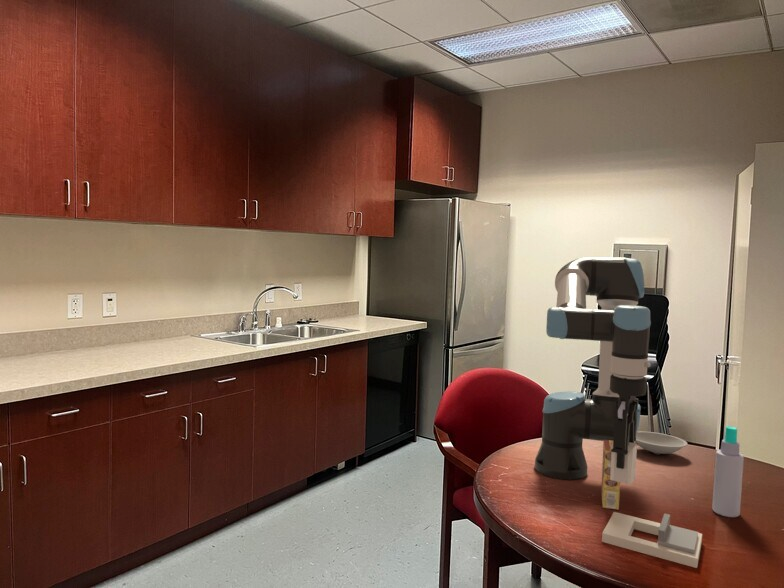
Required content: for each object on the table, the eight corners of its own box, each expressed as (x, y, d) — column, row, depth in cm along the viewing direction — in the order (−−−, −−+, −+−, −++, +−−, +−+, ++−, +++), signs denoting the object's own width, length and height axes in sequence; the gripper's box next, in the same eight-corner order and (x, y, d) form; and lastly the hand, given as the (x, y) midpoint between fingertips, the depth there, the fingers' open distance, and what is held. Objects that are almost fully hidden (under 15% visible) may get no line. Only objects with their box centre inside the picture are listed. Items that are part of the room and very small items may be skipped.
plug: (610, 479, 128) (612, 434, 127) (614, 473, 131) (617, 429, 131) (630, 484, 125) (633, 438, 125) (635, 478, 129) (637, 433, 128)
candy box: (619, 510, 145) (622, 451, 144) (601, 508, 146) (604, 449, 145) (616, 496, 153) (619, 440, 152) (600, 494, 154) (602, 438, 153)
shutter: (657, 544, 124) (658, 529, 124) (663, 526, 132) (664, 513, 132) (694, 553, 120) (695, 539, 120) (697, 535, 128) (698, 521, 128)
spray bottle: (711, 513, 144) (716, 428, 143) (713, 505, 149) (718, 422, 148) (738, 520, 141) (745, 433, 139) (740, 511, 146) (746, 427, 144)
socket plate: (601, 541, 128) (602, 533, 128) (613, 519, 139) (614, 511, 139) (697, 568, 118) (697, 558, 118) (701, 542, 129) (702, 533, 129)
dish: (624, 454, 187) (624, 439, 186) (632, 442, 199) (632, 428, 199) (684, 465, 177) (685, 450, 177) (688, 453, 190) (689, 438, 189)
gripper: (638, 384, 117) (632, 495, 119) (654, 371, 132) (648, 470, 133) (600, 379, 121) (595, 486, 123) (619, 367, 136) (614, 462, 138)
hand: (622, 477), depth 128 cm, fingers closed on plug, 4 cm apart
